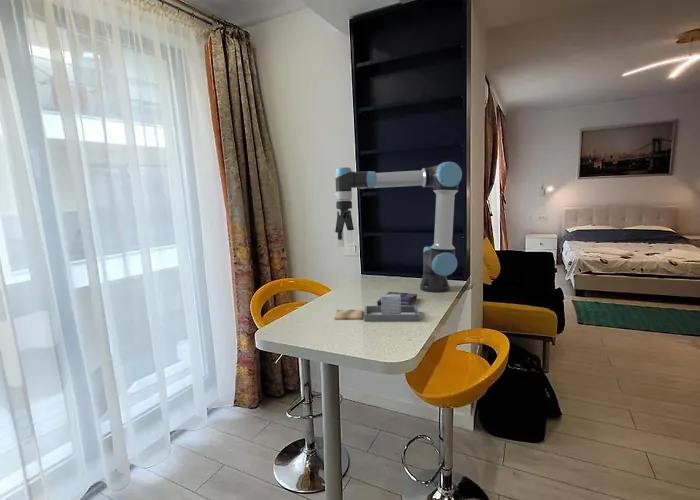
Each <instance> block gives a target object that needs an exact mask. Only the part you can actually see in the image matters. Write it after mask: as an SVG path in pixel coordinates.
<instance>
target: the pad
mask: <svg viewBox="0 0 700 500" xmlns="http://www.w3.org/2000/svg"><path fill="white" fill-rule="evenodd" d="M363 311H364V310H363V309H337V310H336V313H335V315H334V320H336V321H337V320H344V321H345V320H357V321H358V320H363V319H362V318H363Z"/></svg>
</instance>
